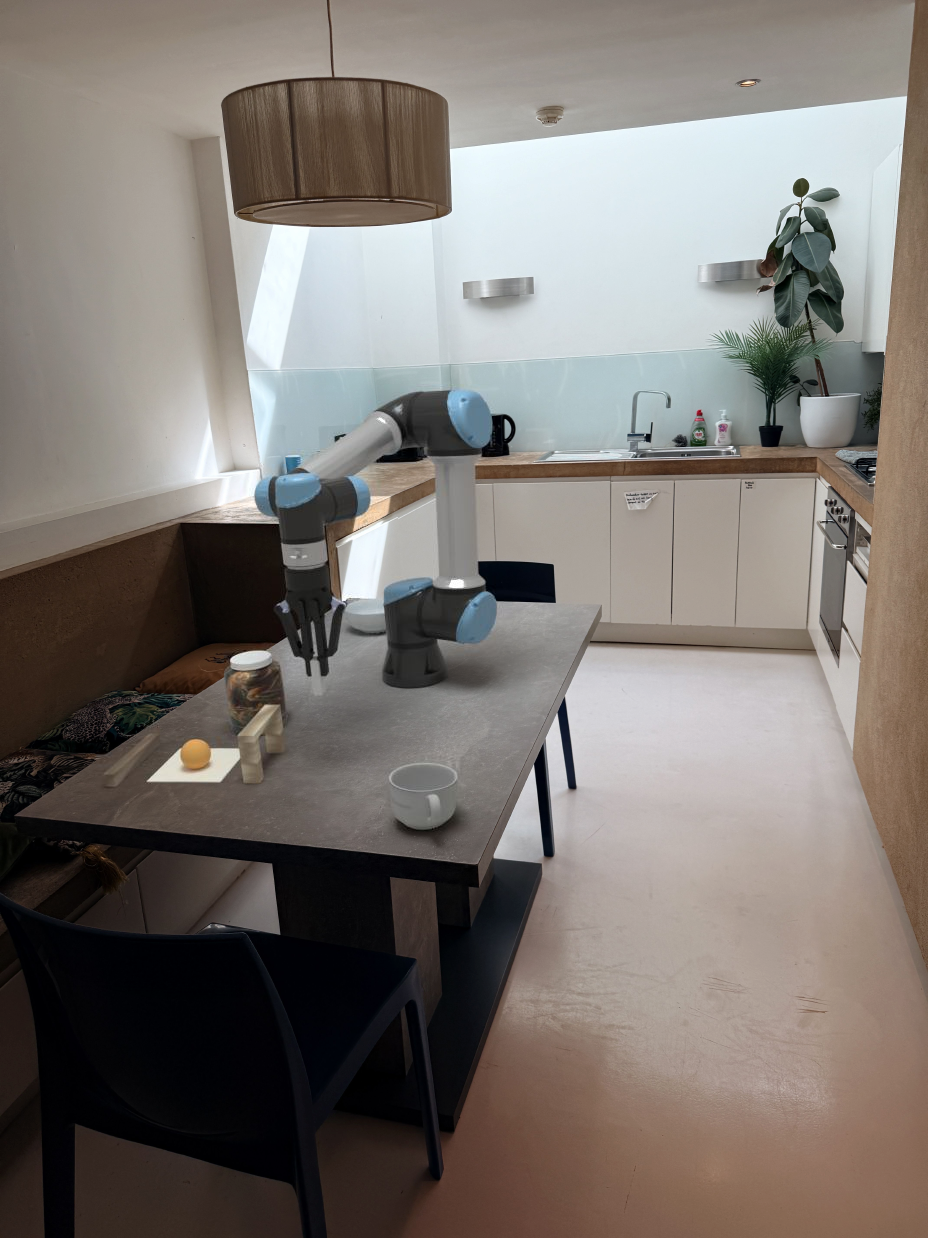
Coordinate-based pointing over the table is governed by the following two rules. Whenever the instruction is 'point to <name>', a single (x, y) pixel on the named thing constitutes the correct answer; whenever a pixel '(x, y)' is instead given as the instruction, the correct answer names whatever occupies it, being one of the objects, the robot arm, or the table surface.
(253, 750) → the bridge
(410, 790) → the teacup
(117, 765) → the stopper
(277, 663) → the jar
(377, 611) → the cereal bowl
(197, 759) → the ball
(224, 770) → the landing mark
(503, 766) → the table surface
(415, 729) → the table surface
